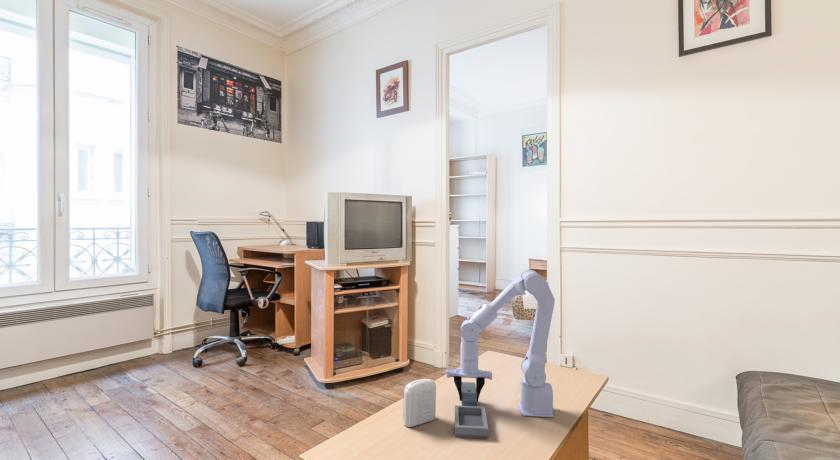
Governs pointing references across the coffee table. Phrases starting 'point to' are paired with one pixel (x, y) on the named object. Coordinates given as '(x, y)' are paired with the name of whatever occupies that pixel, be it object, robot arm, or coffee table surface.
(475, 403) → the block
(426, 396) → the photo printer
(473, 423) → the lock cradle
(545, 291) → the robot arm
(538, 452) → the coffee table surface
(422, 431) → the coffee table surface
